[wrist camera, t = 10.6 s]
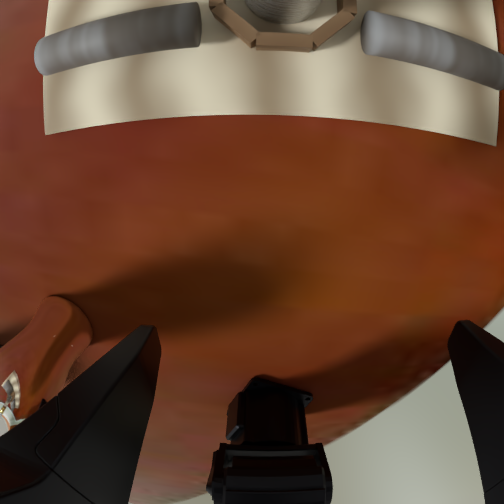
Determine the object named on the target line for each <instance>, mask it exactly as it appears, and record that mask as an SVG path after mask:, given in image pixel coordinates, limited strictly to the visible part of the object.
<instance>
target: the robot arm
mask: <svg viewBox="0 0 504 504" xmlns="http://www.w3.org/2000/svg"><path fill="white" fill-rule="evenodd" d="M448 350H449V354H450V358H451V362H452V366H453V370H454V375H455V379H456V383H457V387H458V391H459V394H460V397H461V400H462V403H463V407H464V410H465V414H466V417H467V421H468V424H469V428H470V432H471V436H472V439H473V444H474V448H475V452H476V456H477V461H478V465H479V470H480V475H481V480H482V486H483V491H484V499H485V504H504V343H503V342H502V341H501V340H499V339H497V338H496V337H494V336H493V335H491V334H490V333H488V332H487V331H485V330H484V329H482V328H481V327H479V326H477V325H476V324H474V323H473V322H471V321H470V320H460V321H458V322H457V323H456V324H455V326H454V328H453V331H452V333H451V335H450V337H449V339H448ZM160 358H161V345H160V341H159V337H158V333H157V329H156V327H155V326H153V325H140V326H139V327H138V328H136V329H135V330H134V331H133V332H132V333H130V334H129V335H128V336H127V337H125V338H124V339H123V340H122V341H121V342H119V343H118V344H117V345H116V346H114V347H113V348H112V349H111V350H110V351H108V352H107V353H106V354H105V355H104V356H102V357H101V358H100V359H99V360H98V361H96V362H95V363H94V364H93V365H92V366H90V367H89V368H88V369H87V370H85V371H84V372H83V373H82V374H81V375H79V376H78V377H77V378H76V379H75V380H73V381H72V382H71V383H70V384H69V385H67V386H66V387H65V388H64V389H63V390H62V391H60V392H59V393H58V394H57V396H54V397H53V398H52V399H51V400H49V401H48V402H47V403H46V404H45V405H43V406H42V407H41V408H40V409H38V410H37V411H36V412H35V413H33V414H32V415H30V416H29V417H28V418H26V419H25V420H23V421H22V422H21V423H19V424H18V425H16V426H15V427H13V428H12V429H10V430H9V431H7V432H6V433H4V434H3V435H2V436H0V504H128V501H129V497H130V493H131V488H132V484H133V480H134V475H135V471H136V467H137V463H138V459H139V455H140V451H141V447H142V443H143V439H144V435H145V432H146V428H147V424H148V420H149V417H150V413H151V409H152V405H153V401H154V396H155V390H156V383H157V377H158V370H159V364H160ZM255 382H256V383H255ZM312 400H313V395H312V394H311V393H309V392H305V391H301V390H297V389H294V388H290V387H287V386H283V385H280V384H277V383H273V382H270V381H267V380H263V379H260V378H252V379H251V380H250V381H249V382H248V384H247V385H246V386H245V388H244V389H243V390H242V392H239V393H238V394H237V395H236V397H235V398H234V399H233V401H232V402H231V403H230V404H229V407H228V410H227V416H228V417H227V428H226V438H227V440H230V441H231V444H227V443H220V447H219V450H217V451H215V452H213V460H212V467H211V471H210V475H209V478H208V482H207V485H206V491H207V492H208V493H209V494H210V495H211V496H212V500H213V501H214V504H330V503H331V499H332V490H333V486H332V476H331V472H330V469H329V465H328V462H327V458H326V455H325V452H324V448H323V445H322V443H315V444H308V435H307V426H306V417H305V409H304V408H305V407H306V406H307V405H308V404H309V403H310V402H311V401H312Z"/></svg>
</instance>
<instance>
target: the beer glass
mask: <svg viewBox="0 0 504 504" xmlns="http://www.w3.org/2000/svg"><path fill="white" fill-rule="evenodd" d="M92 337H93V332H92V327H91V325H90V322H89V320H88V319H87V317H86V316H85V314H84V313H83V312H82V311H81V310H80V309H79V308H78V307H77V306H76V305H75V304H74V303H72V302H71V301H69V300H67V299H65V298H62V297H59V296H49V297H47V298H45V299H44V300H43V301H42V302H41V303H40V305H39V306H38V308H37V310H36V312H35V314H34V316H33V318H32V319H31V321H30V322H29V323H28V325H27V326H26V327H25V328H24V329H23V330H22V331H21V332H20V333H19V334H17V335H16V336H15V337H14V338H12V339H11V340H10V341H9V342H7V343H6V344H5V345H4V346H2V347H1V348H0V436H2V435H3V434H4V433H6V432H7V431H9V430H10V429H12V428H13V427H15V426H16V425H18V424H19V423H21V422H22V421H23V420H25V419H26V418H28V417H29V416H30V415H32V414H33V413H35V412H36V411H37V410H38V409H40V408H41V407H42V406H43V405H45V404H46V403H47V402H48V401H49V400H51V399H52V398H53V397H54V396H57V394H58V393H59V392H60V391H62V390H63V389H64V385H65V382H66V379H67V376H68V373H69V371H70V368H71V366H72V364H73V363H74V361H75V360H76V359H77V357H78V356H79V355H80V354H81V353H82V352H83V351H84V350H85V349H86V348H87V347H88V346H89V344H90V343H91V341H92Z"/></svg>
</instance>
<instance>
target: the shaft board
mask: <svg viewBox="0 0 504 504" xmlns="http://www.w3.org/2000/svg"><path fill="white" fill-rule="evenodd" d="M34 60H35V65H36V67H37V69H38V71H39V72H40V73H41V74H42V75H43V100H44V124H45V135H49V134H54V133H58V132H64V131H69V130H74V129H80V128H86V127H92V126H98V125H105V124H112V123H120V122H128V121H137V120H146V119H156V118H168V117H183V116H201V115H237V114H258V115H294V116H312V117H327V118H339V119H349V120H359V121H367V122H375V123H383V124H390V125H397V126H403V127H410V128H416V129H421V130H427V131H432V132H437V133H442V134H447V135H452V136H456V137H461V138H465V139H469V140H473V141H477V142H481V143H485V144H489V145H493V146H496V141H497V129H498V112H499V90H503V89H504V55H503V54H501V53H499V52H498V46H497V34H496V25H495V17H494V10H493V3H492V0H322V1H321V3H320V4H319V6H318V7H317V9H316V10H315V12H314V13H313V14H312V15H311V16H310V17H308V18H307V19H305V20H303V21H301V22H298V23H295V24H287V25H282V24H274V23H270V22H267V21H265V20H263V19H261V18H259V17H257V16H256V15H255V14H254V13H252V12H251V10H250V9H249V8H248V7H247V5H246V3H245V0H49V4H48V12H47V21H46V32H45V37H43V38H41V39H40V40H39V41H38V43H37V45H36V47H35V52H34Z"/></svg>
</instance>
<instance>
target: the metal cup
mask: <svg viewBox="0 0 504 504" xmlns="http://www.w3.org/2000/svg"><path fill="white" fill-rule="evenodd" d="M321 1H322V0H245V3H246V5H247V7H248V8H249V9H250V10H251V12H252V13H254V14H255V15H256V16H257V17H259V18H261V19H263V20H265V21H267V22H270V23H274V24H282V25H287V24H295V23H298V22H301V21H303V20H305V19H307V18H308V17H310V16H311V15H312V14H313V13H314V12H315V10H316V9H317V7H318V6H319V4H320V3H321Z"/></svg>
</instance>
